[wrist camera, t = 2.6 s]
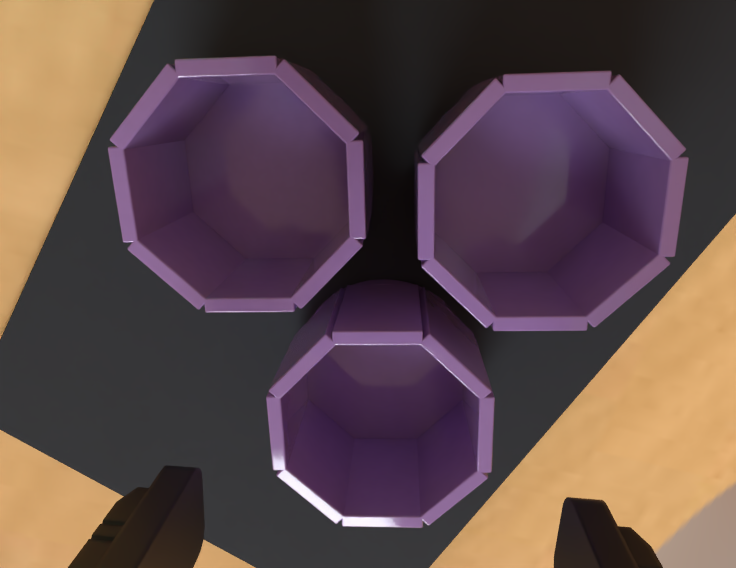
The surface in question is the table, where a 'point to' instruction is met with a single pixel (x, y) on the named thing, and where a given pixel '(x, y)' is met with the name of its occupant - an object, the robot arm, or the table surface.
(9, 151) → the table surface
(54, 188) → the table surface
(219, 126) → the purple octagonal cup
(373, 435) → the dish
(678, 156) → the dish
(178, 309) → the mat
